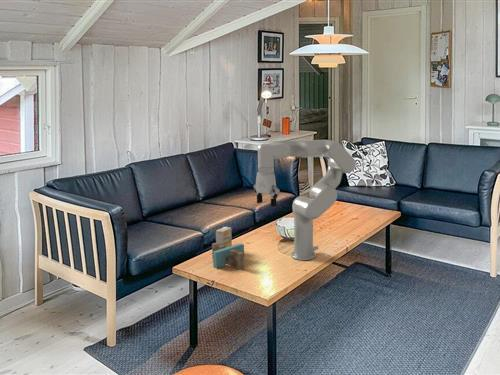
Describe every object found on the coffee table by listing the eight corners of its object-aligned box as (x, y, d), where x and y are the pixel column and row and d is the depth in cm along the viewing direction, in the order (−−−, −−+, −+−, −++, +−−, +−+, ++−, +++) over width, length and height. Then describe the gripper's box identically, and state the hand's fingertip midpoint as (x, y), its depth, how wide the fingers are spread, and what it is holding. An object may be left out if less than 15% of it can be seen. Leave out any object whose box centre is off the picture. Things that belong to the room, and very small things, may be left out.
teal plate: (216, 268, 246) (215, 252, 245) (213, 267, 248) (212, 251, 246) (244, 259, 258) (243, 244, 256) (241, 257, 260) (240, 243, 258)
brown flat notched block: (212, 258, 260) (211, 243, 258) (216, 257, 261) (215, 242, 260) (240, 269, 244) (239, 254, 242) (244, 268, 245) (243, 252, 244)
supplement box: (223, 255, 264) (223, 231, 261) (216, 254, 266) (215, 230, 263) (232, 250, 271) (231, 227, 268) (225, 249, 273) (224, 226, 270)
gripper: (248, 168, 245) (248, 202, 249) (273, 173, 232) (273, 209, 236) (259, 166, 250) (260, 200, 254) (284, 171, 237) (284, 206, 241)
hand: (266, 204), depth 245 cm, fingers open, 9 cm apart
